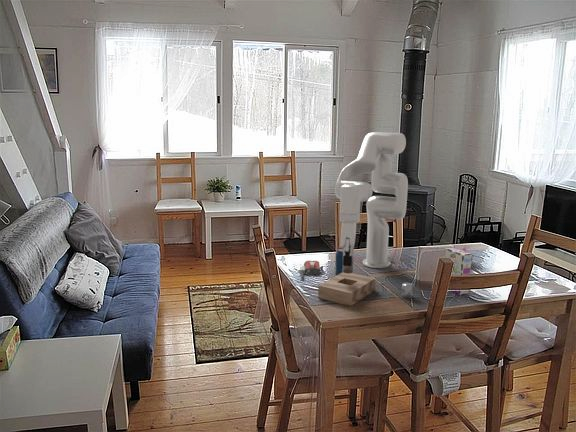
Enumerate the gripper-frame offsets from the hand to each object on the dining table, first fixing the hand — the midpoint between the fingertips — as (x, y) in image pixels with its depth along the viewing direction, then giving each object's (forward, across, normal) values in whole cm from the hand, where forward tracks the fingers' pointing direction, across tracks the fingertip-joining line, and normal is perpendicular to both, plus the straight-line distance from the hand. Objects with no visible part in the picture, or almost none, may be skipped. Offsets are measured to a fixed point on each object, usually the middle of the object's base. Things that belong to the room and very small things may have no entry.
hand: (347, 263), depth 202 cm
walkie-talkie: (+13, -22, -18) cm, 31 cm away
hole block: (+12, 0, 0) cm, 12 cm away
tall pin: (+3, 0, 0) cm, 3 cm away
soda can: (+12, -20, -3) cm, 24 cm away
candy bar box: (+12, -14, +42) cm, 46 cm away
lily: (+12, -51, +48) cm, 71 cm away
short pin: (+12, -3, +23) cm, 26 cm away
